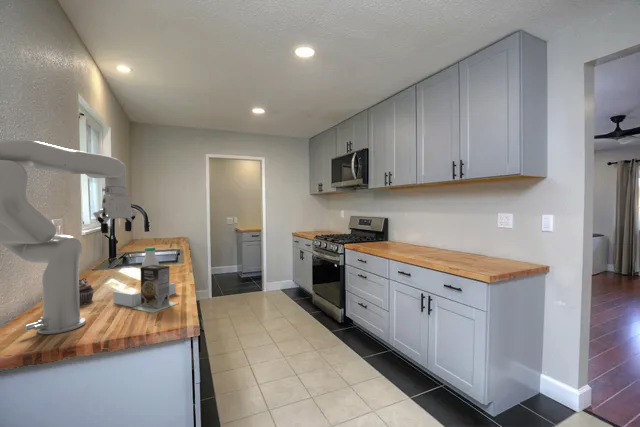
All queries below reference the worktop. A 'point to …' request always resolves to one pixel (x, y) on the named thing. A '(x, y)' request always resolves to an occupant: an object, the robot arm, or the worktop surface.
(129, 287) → the worktop surface
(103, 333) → the worktop surface
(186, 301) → the worktop surface
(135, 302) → the grey l-shaped block
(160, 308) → the pad
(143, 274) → the coffee box
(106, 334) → the worktop surface
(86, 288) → the cupcake
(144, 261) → the milk bottle
